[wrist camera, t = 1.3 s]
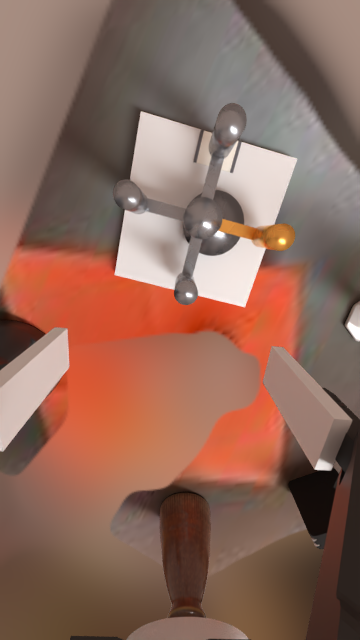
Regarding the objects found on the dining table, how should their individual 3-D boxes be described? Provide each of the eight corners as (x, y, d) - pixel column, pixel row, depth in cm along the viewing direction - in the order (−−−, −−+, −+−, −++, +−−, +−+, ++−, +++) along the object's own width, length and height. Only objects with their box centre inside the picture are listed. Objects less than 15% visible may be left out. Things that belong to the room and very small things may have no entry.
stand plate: (117, 273, 37) (114, 275, 35) (142, 116, 30) (140, 110, 29) (242, 304, 39) (245, 307, 37) (292, 162, 32) (298, 158, 30)
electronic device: (338, 479, 51) (374, 534, 42) (293, 494, 53) (317, 550, 43) (333, 466, 50) (369, 519, 41) (286, 481, 52) (310, 537, 42)
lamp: (131, 523, 56) (52, 999, 21) (160, 468, 50) (118, 996, 16) (205, 543, 58) (243, 1000, 24) (241, 493, 53) (360, 997, 18)
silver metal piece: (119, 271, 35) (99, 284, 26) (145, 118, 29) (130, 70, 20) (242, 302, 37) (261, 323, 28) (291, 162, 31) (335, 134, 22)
